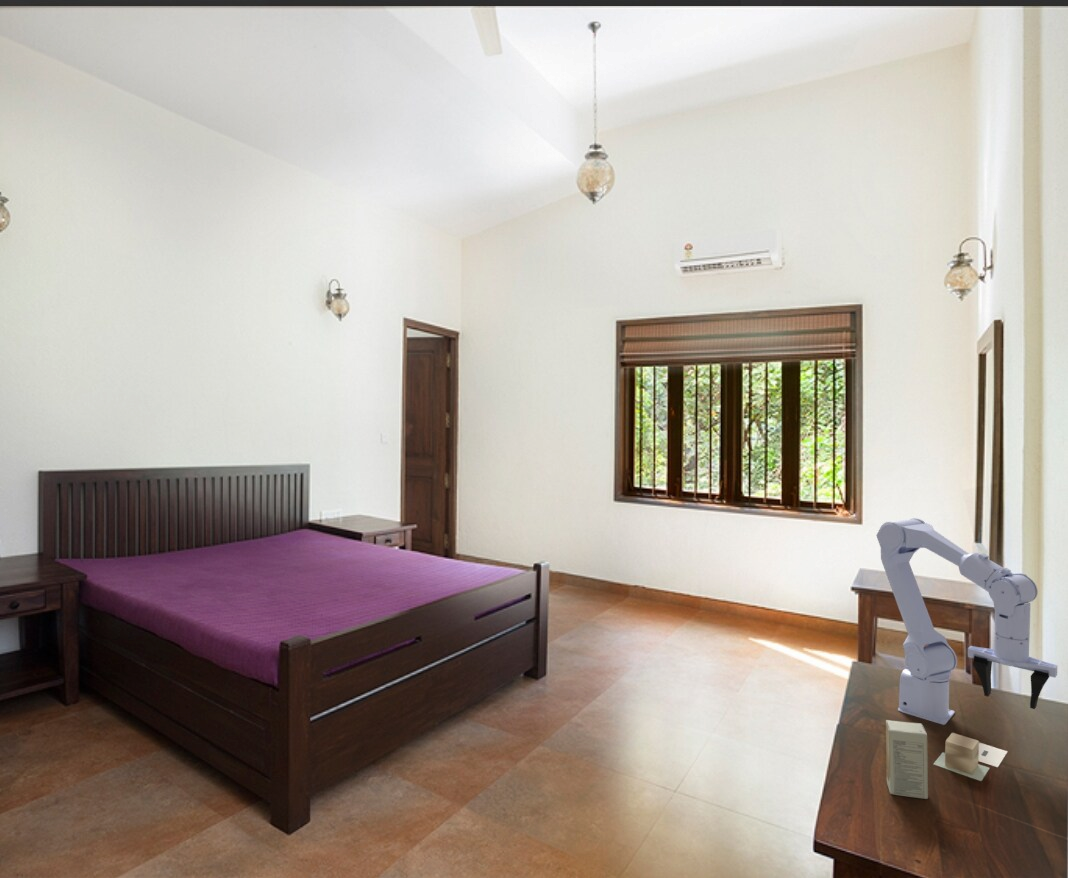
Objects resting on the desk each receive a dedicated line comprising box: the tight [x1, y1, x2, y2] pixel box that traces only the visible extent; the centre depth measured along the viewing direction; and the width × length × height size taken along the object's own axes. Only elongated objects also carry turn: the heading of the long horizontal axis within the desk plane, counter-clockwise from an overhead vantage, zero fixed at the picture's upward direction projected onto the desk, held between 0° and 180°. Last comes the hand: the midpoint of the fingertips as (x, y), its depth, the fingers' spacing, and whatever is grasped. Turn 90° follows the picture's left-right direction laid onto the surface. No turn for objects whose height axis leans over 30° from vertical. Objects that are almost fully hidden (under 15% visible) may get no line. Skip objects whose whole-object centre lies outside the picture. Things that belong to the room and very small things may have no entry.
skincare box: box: [885, 719, 929, 800], centre depth 121 cm, size 6×4×12 cm
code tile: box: [978, 742, 1008, 768], centre depth 133 cm, size 8×8×1 cm
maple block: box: [944, 732, 980, 775], centre depth 128 cm, size 4×4×5 cm
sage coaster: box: [933, 751, 991, 782], centre depth 128 cm, size 8×6×1 cm
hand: (1010, 700), depth 133 cm, fingers open, 7 cm apart
